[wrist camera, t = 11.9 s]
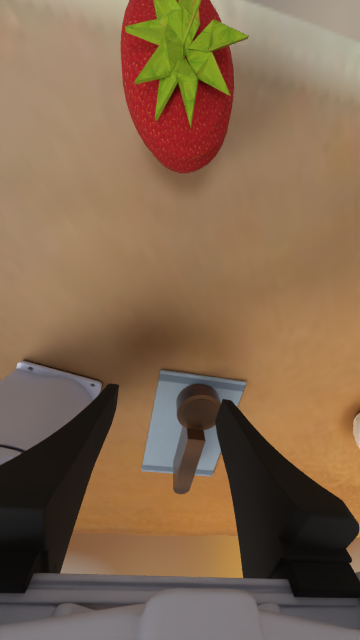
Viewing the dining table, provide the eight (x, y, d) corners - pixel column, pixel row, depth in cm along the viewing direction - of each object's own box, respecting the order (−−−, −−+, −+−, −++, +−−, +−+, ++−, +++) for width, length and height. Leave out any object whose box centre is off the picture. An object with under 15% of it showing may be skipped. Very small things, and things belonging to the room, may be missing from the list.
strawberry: (193, 69, 14) (238, -304, 5) (222, 180, 17) (291, 81, 7) (122, 105, 15) (35, -169, 5) (161, 207, 17) (150, 149, 8)
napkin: (141, 468, 28) (141, 471, 28) (160, 369, 23) (160, 370, 22) (211, 474, 30) (211, 476, 29) (245, 381, 24) (246, 382, 24)
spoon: (196, 468, 29) (200, 495, 25) (160, 465, 28) (159, 492, 25) (224, 386, 24) (232, 407, 20) (180, 380, 23) (182, 401, 20)
